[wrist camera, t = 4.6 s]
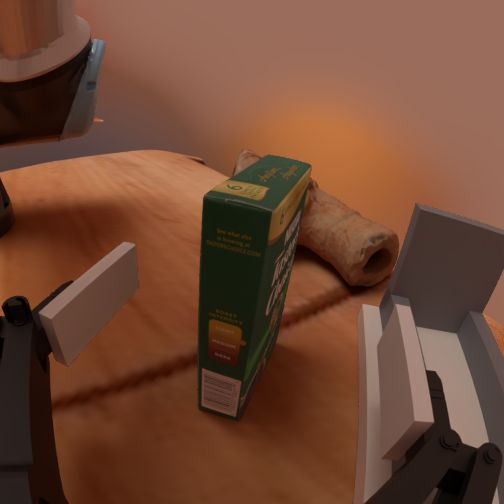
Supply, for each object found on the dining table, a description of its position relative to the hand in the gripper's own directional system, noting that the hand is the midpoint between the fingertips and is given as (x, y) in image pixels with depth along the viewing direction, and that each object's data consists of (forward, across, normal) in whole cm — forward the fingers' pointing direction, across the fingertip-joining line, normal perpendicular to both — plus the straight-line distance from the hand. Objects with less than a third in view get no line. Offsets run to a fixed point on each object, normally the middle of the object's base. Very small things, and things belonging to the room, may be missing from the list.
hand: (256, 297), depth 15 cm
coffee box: (+1, 0, -8) cm, 8 cm away
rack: (0, +14, -7) cm, 15 cm away
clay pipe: (+19, 0, -8) cm, 20 cm away
